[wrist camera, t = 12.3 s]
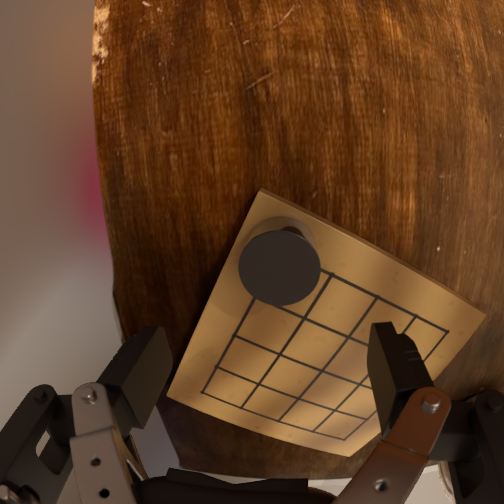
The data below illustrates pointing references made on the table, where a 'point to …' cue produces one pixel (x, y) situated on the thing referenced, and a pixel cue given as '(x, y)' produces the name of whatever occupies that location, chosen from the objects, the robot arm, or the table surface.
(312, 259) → the dark grey puck
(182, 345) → the table surface
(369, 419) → the board
